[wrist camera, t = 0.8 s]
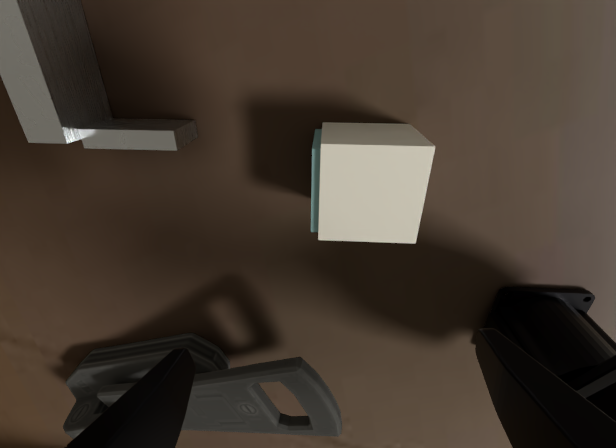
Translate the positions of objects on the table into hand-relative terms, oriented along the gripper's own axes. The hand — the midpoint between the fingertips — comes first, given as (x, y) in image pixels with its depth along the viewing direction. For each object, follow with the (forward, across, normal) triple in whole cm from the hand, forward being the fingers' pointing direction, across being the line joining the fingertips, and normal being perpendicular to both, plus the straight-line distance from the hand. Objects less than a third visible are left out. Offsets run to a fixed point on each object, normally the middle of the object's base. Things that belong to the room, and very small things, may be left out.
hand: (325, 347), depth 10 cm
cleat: (+12, +10, -9) cm, 18 cm away
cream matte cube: (+12, -2, -2) cm, 13 cm away
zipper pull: (+12, +14, +15) cm, 23 cm away
